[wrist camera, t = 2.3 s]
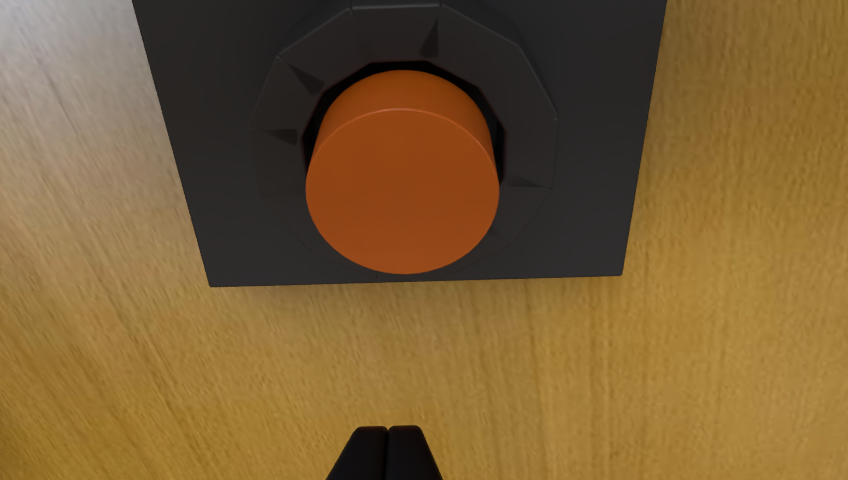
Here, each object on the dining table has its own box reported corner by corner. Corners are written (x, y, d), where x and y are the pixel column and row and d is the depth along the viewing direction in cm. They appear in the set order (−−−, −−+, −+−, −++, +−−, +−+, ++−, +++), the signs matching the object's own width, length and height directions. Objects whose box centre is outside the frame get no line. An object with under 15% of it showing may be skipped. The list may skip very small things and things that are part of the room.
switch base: (656, -123, 16) (717, -93, 13) (606, 233, 22) (638, 318, 18) (141, -104, 16) (70, -69, 13) (226, 245, 22) (191, 330, 19)
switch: (493, 65, 15) (502, 105, 13) (489, 221, 17) (496, 272, 15) (307, 71, 15) (292, 111, 13) (328, 226, 17) (317, 278, 15)
